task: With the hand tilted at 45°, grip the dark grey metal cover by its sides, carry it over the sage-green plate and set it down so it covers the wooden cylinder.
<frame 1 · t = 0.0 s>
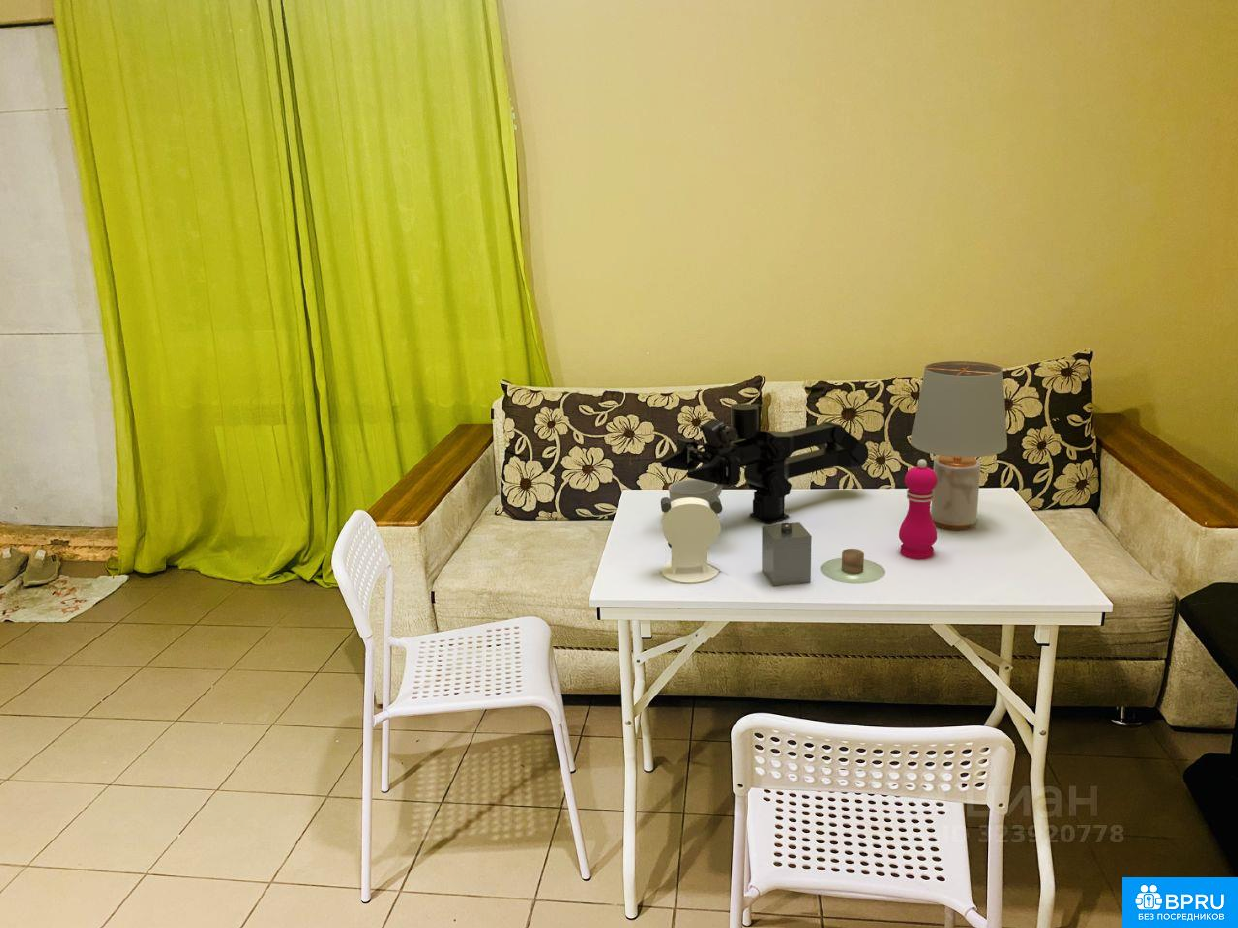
hand: (674, 469, 190), 17 cm above the table, tool horizontal, fingers open, 9 cm apart
panda figurine: (691, 572, 182), on the table
pepper mill: (916, 556, 184), on the table
plate: (852, 572, 178), on the table
teacup: (699, 517, 210), on the table
lamp: (952, 524, 199), on the table
cover: (786, 579, 176), on the table
wooden cylinder: (852, 569, 177), point 1 cm above the table, touching plate
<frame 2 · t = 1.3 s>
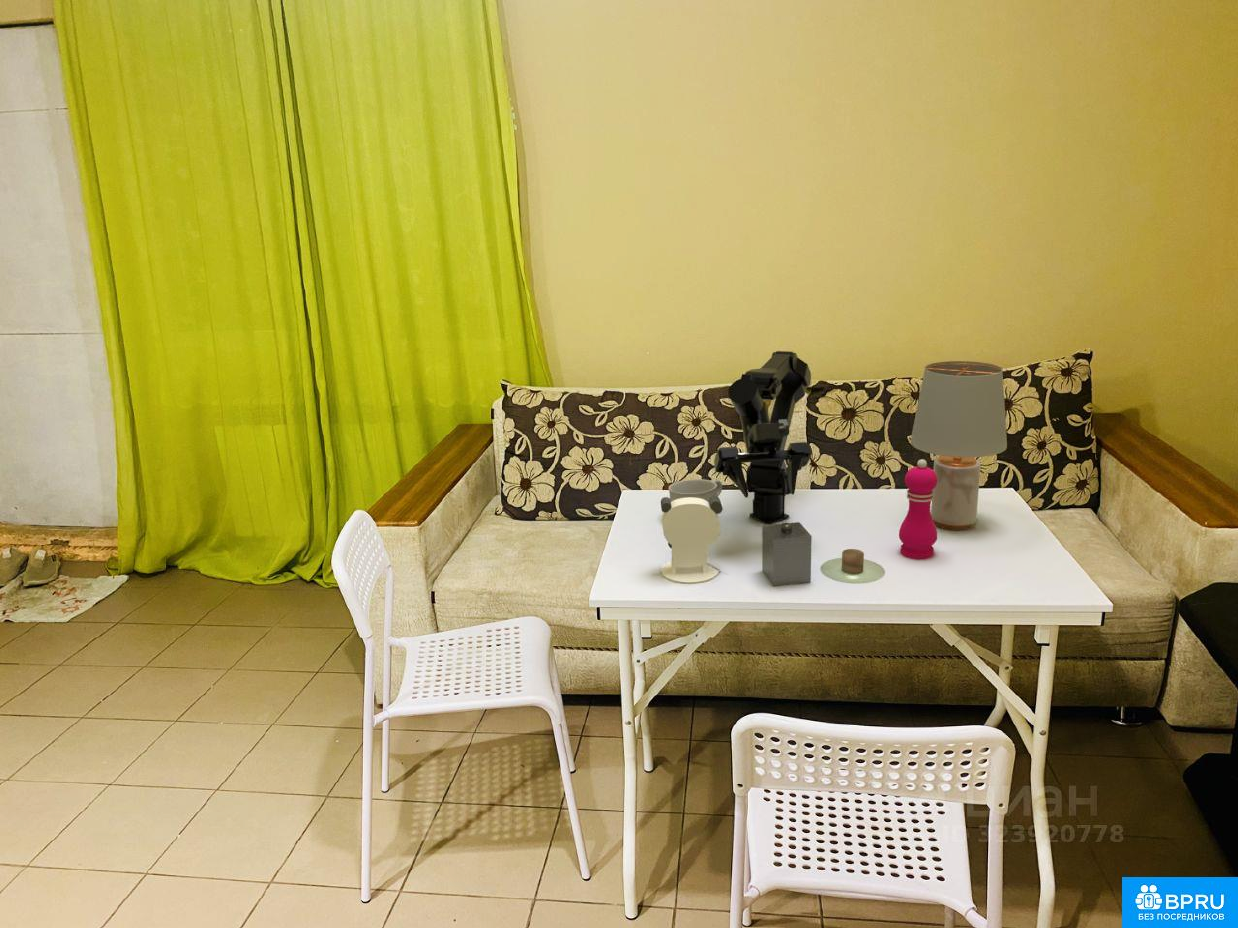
hand: (770, 495, 181), 14 cm above the table, tool tilted 45°, fingers open, 9 cm apart
nothing on the table moved.
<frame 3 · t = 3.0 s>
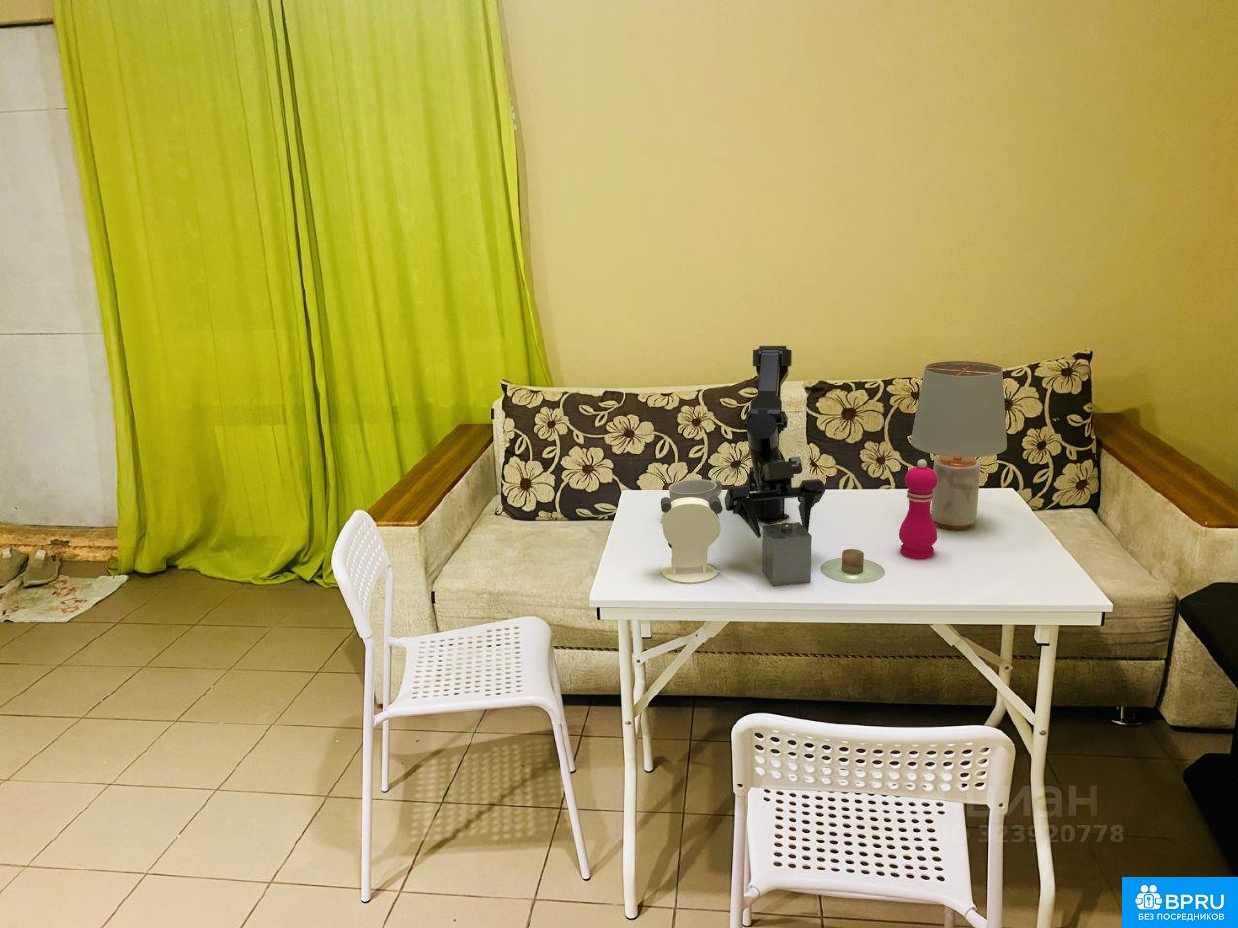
hand: (783, 535, 175), 8 cm above the table, tool tilted 45°, fingers open, 9 cm apart
nothing on the table moved.
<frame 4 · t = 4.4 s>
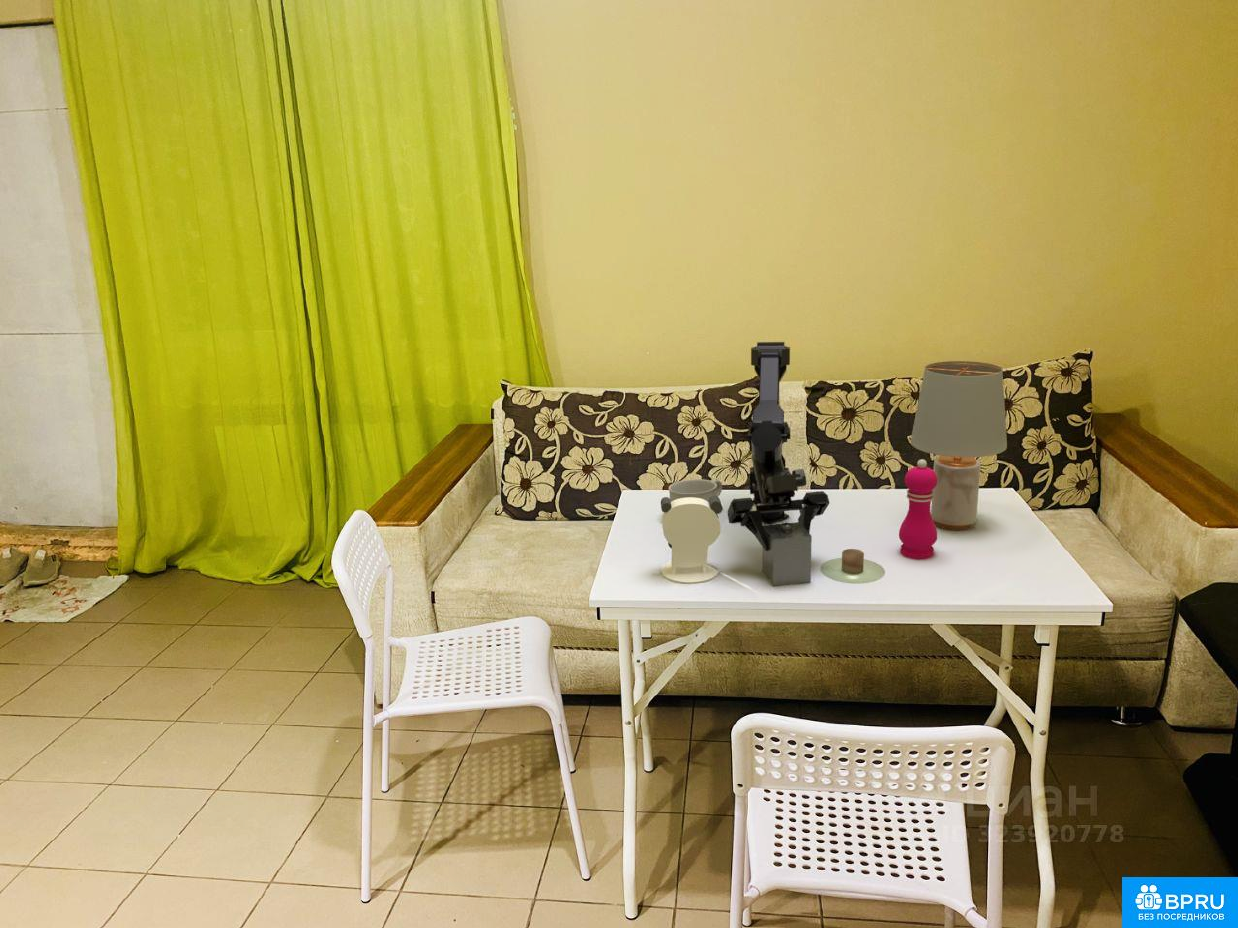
hand: (787, 548, 174), 7 cm above the table, tool tilted 45°, fingers closed on cover, 7 cm apart
cover: (786, 579, 176), on the table, touching gripper
everything else where it was.
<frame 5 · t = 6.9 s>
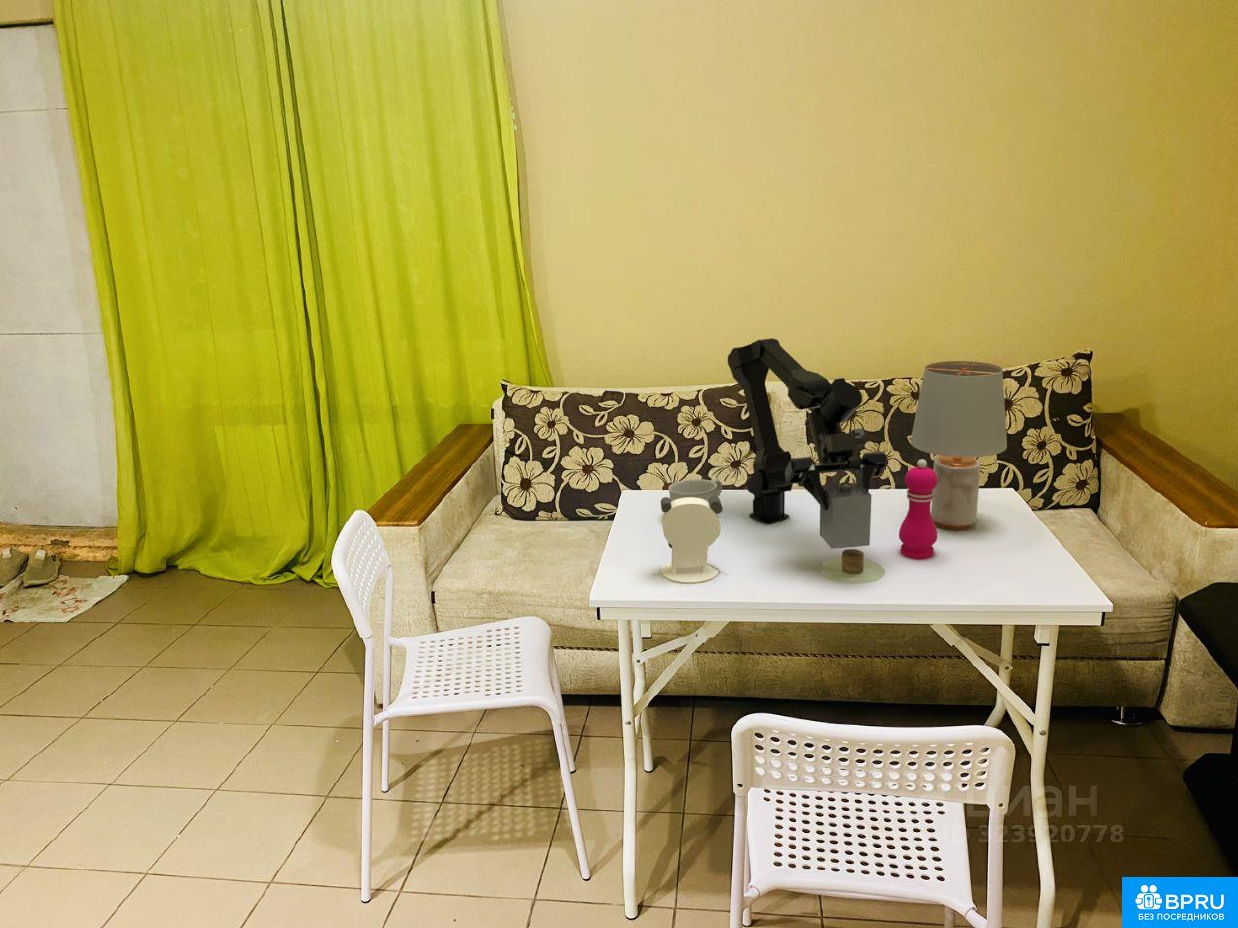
hand: (845, 507, 173), 14 cm above the table, tool tilted 45°, fingers closed on cover, 7 cm apart
cover: (844, 539, 175), point 7 cm above the table, touching gripper
everything else where it was.
when the fingers open (8 cm above the table, at t = 9.3 s): cover drops 1 cm, resting on plate.
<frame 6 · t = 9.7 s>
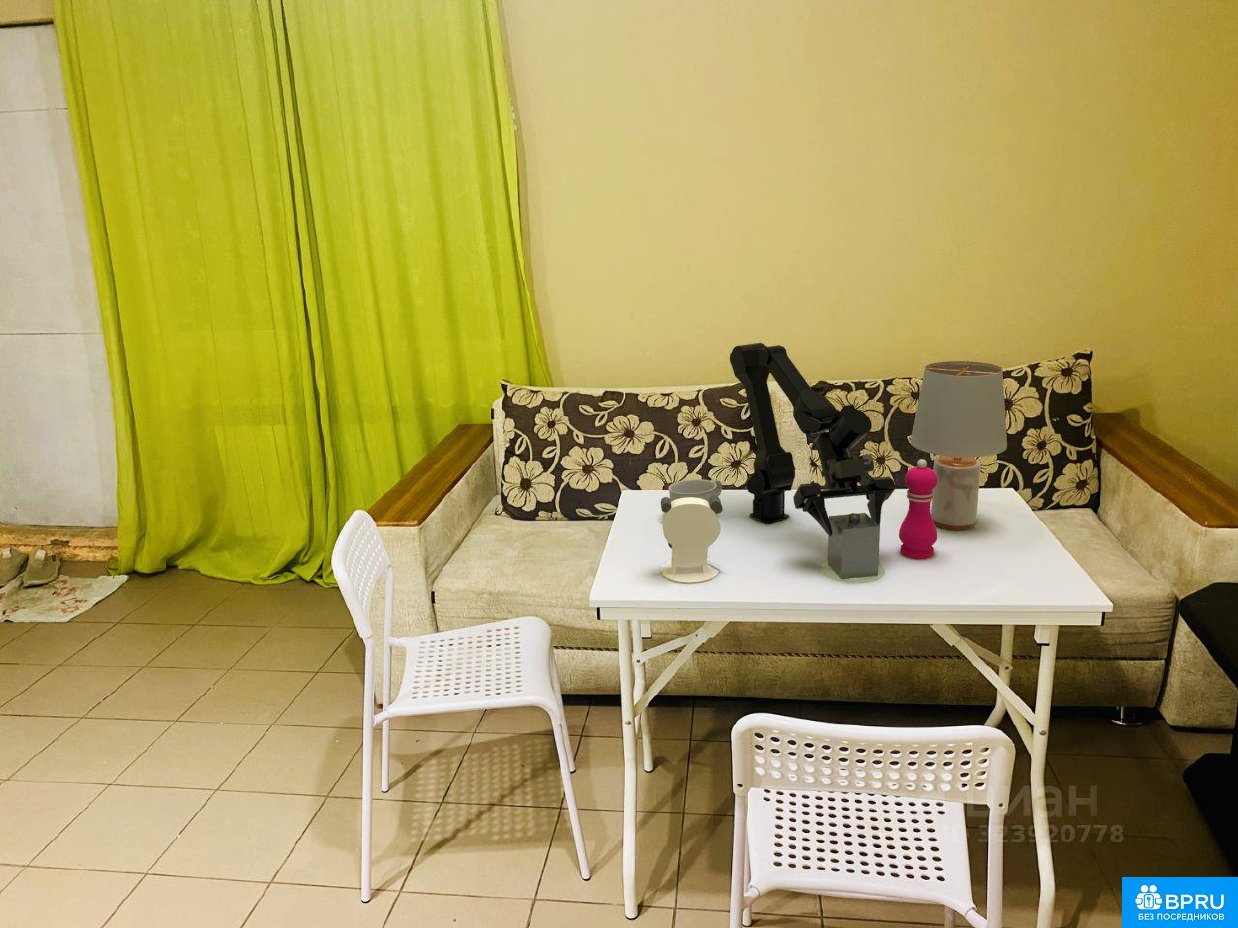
hand: (854, 533, 175), 8 cm above the table, tool tilted 45°, fingers open, 9 cm apart
cover: (852, 569, 177), point 1 cm above the table, touching plate
everything else where it was.
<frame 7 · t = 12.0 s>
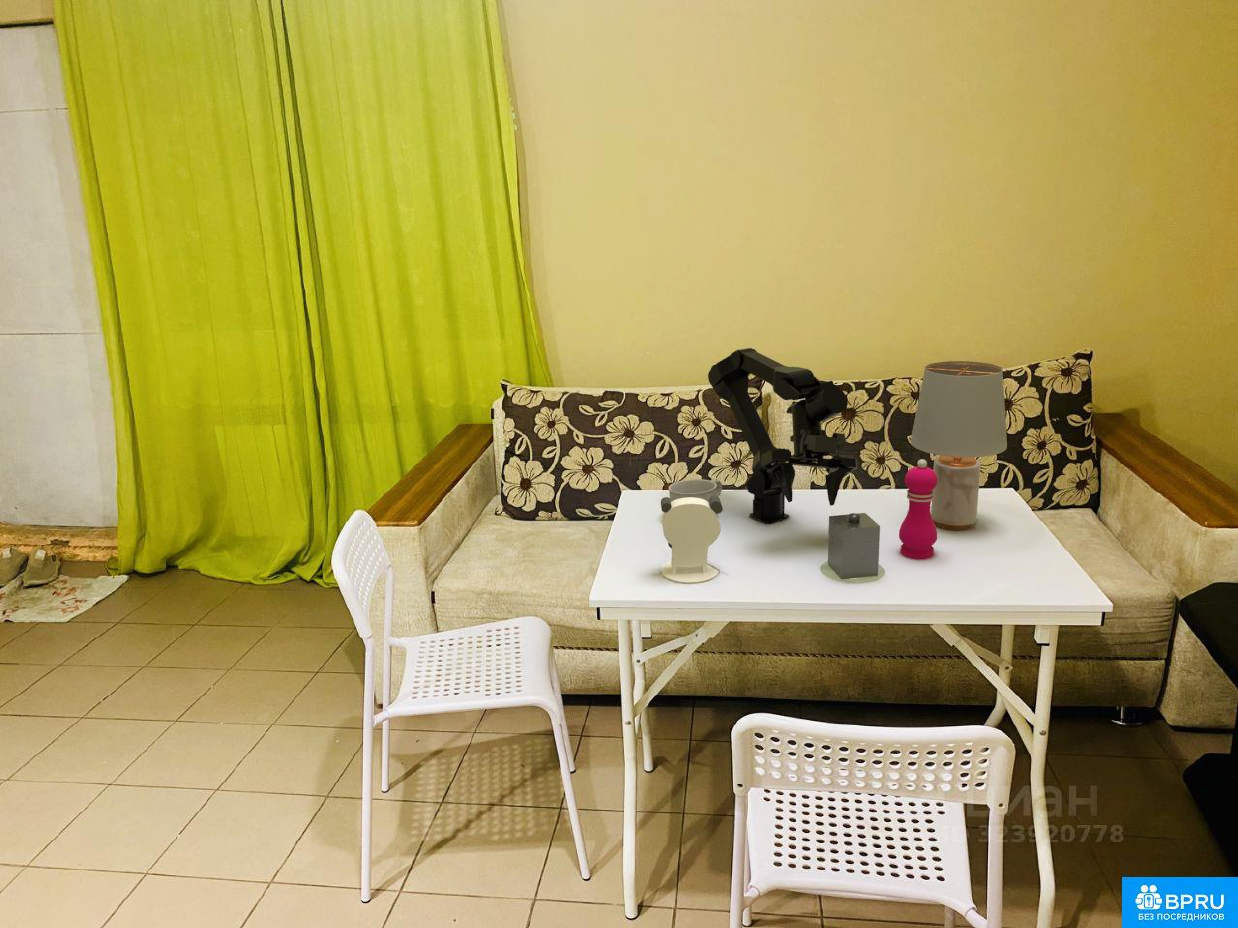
hand: (811, 503, 184), 11 cm above the table, tool tilted 35°, fingers open, 9 cm apart
nothing on the table moved.
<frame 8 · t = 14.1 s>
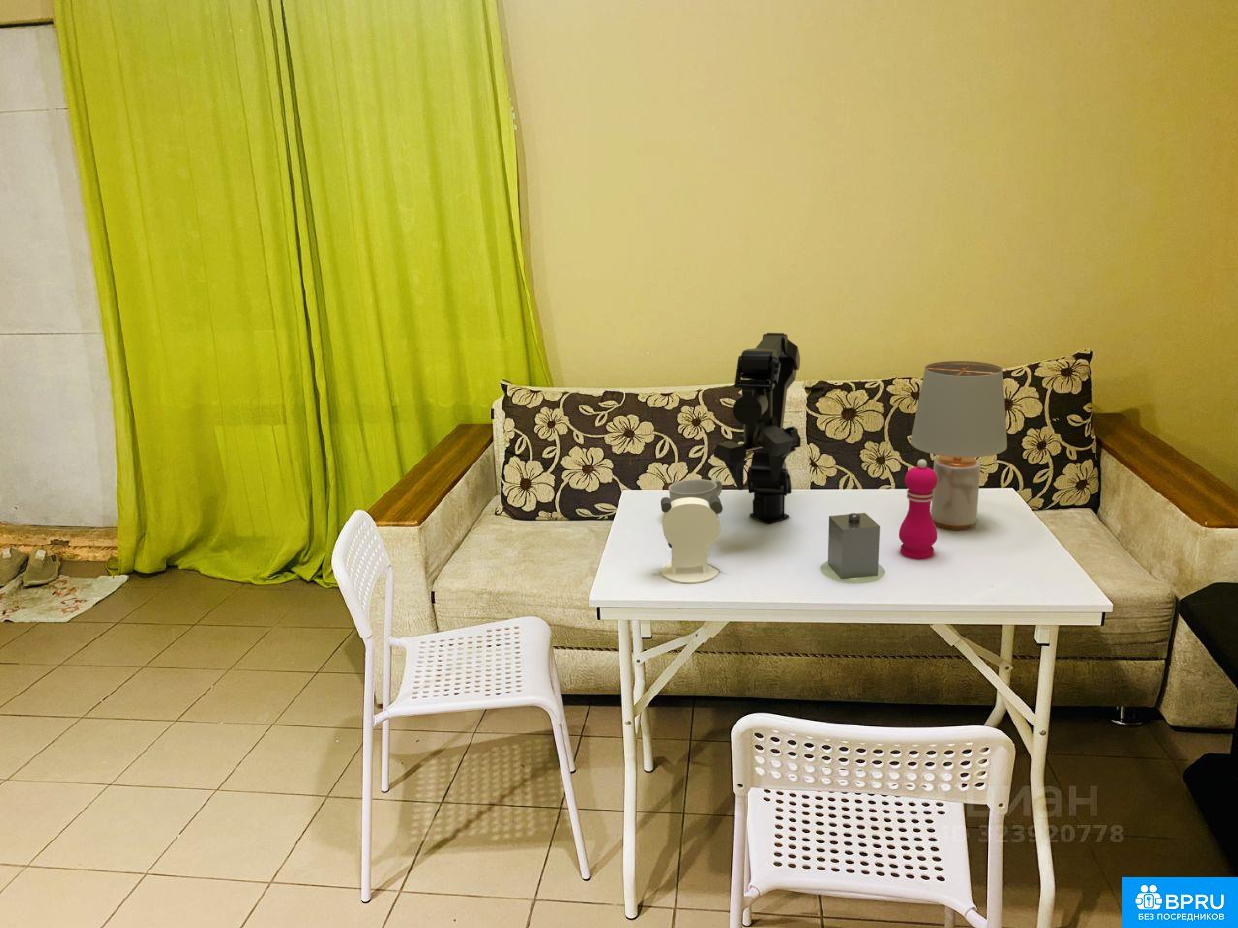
hand: (757, 484, 192), 12 cm above the table, tool pointing down, fingers open, 9 cm apart
nothing on the table moved.
at the end: cover 0.1 cm off-centre on the wooden cylinder, point 0.0 cm above the wooden cylinder's base; cover tilted 0°; the gripper is holding nothing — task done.
